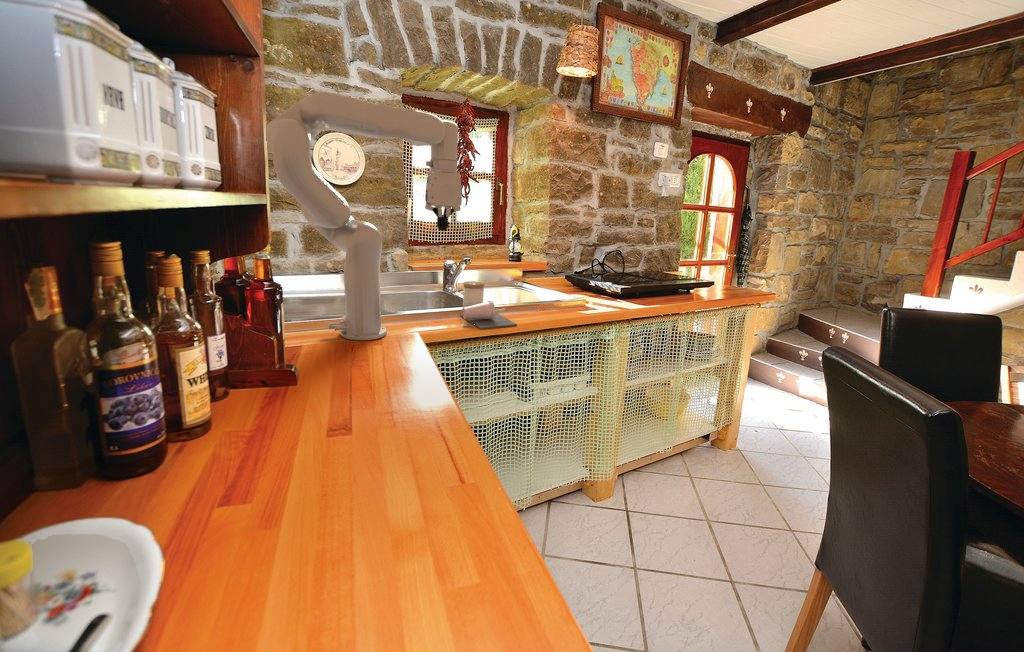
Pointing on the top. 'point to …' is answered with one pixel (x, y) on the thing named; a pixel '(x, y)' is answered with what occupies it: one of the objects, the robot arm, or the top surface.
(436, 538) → the top surface
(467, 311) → the smoothie
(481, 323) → the mat
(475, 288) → the canister
